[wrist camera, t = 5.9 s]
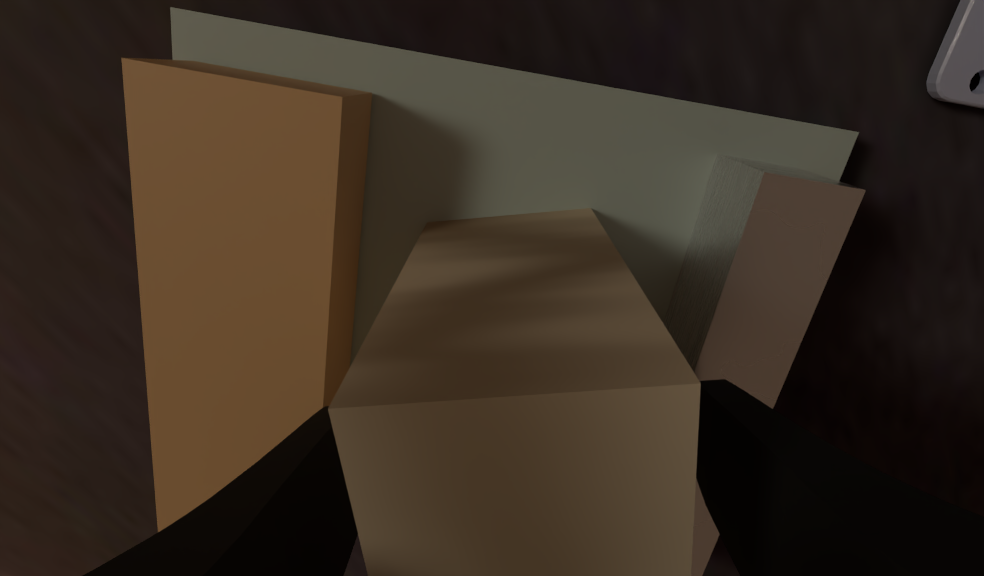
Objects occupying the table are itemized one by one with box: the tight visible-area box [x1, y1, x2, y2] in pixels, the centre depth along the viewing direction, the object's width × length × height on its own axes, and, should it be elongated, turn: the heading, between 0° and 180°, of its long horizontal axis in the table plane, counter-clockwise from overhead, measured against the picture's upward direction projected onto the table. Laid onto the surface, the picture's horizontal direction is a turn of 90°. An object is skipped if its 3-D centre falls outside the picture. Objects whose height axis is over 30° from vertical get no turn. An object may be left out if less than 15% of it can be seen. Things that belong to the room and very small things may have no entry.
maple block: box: [328, 208, 701, 576], centre depth 11 cm, size 4×7×8 cm, turn 6°
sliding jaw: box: [122, 58, 372, 532], centre depth 13 cm, size 4×12×2 cm, turn 170°
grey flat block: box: [170, 7, 866, 576], centre depth 14 cm, size 16×14×4 cm
